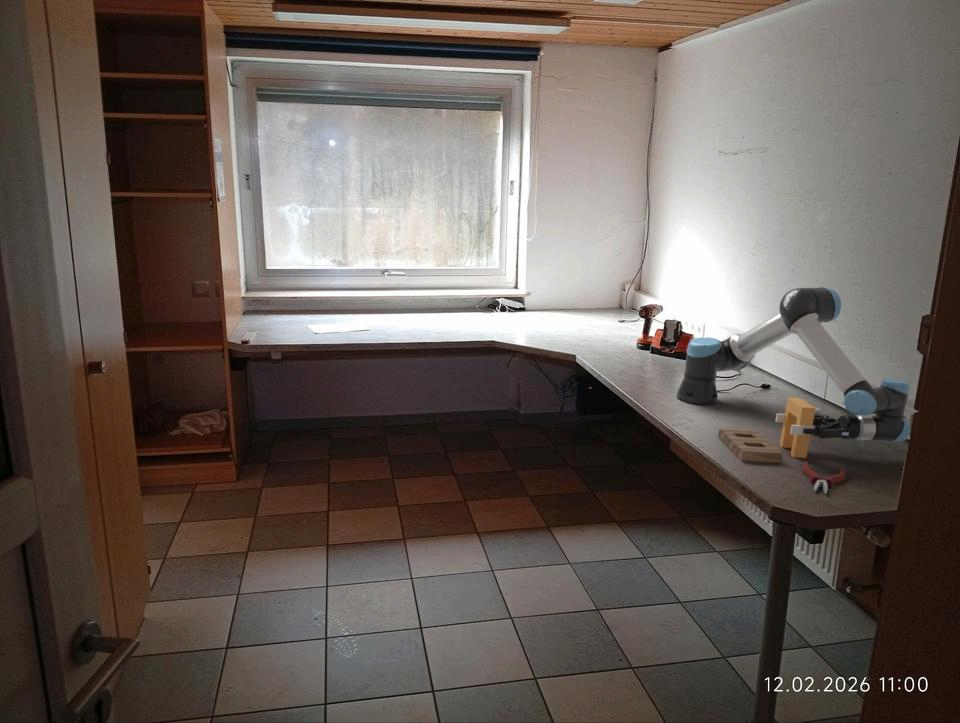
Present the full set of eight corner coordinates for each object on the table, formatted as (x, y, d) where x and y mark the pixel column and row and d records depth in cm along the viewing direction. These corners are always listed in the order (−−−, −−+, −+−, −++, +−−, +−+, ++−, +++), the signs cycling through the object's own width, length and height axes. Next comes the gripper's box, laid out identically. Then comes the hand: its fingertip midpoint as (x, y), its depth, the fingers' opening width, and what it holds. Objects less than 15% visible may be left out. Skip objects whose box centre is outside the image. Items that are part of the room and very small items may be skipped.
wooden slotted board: (718, 436, 224) (719, 428, 223) (754, 438, 224) (756, 430, 223) (740, 460, 204) (742, 451, 203) (780, 462, 204) (782, 453, 204)
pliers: (796, 491, 186) (797, 482, 185) (801, 467, 203) (803, 459, 202) (843, 502, 181) (845, 493, 180) (844, 477, 198) (846, 468, 197)
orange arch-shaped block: (779, 445, 219) (787, 397, 215) (791, 445, 219) (800, 398, 215) (793, 457, 209) (802, 407, 205) (806, 457, 209) (815, 408, 205)
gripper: (873, 452, 202) (798, 448, 202) (834, 426, 224) (766, 422, 224) (878, 428, 200) (802, 424, 200) (838, 404, 222) (770, 400, 222)
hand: (783, 423), depth 212 cm, fingers closed on orange arch-shaped block, 10 cm apart
